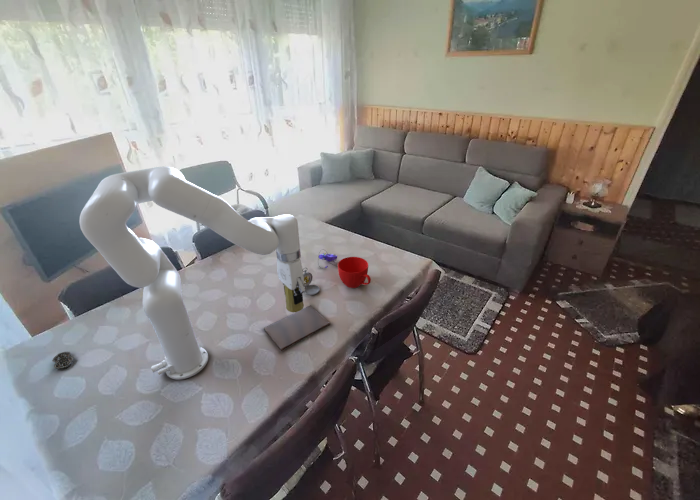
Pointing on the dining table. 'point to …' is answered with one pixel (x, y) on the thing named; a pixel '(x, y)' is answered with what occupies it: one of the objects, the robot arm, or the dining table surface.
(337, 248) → the dining table surface
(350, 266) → the ceramic cup
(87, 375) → the dining table surface
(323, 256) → the game controller
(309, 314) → the serving board
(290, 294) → the vase
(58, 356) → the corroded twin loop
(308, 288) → the pocket watch
